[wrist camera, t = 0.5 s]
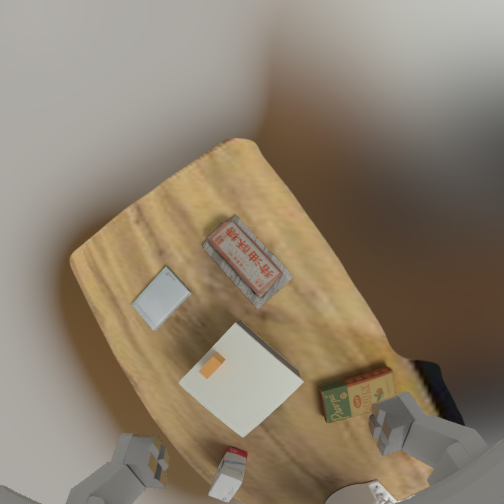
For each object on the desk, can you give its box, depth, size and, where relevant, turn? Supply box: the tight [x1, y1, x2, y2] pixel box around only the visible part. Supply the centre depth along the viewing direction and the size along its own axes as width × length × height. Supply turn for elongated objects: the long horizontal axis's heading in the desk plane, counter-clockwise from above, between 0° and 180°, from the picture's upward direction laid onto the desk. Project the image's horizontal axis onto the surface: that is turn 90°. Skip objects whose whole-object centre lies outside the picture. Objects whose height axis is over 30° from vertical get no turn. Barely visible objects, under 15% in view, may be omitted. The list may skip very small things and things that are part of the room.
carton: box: [318, 367, 395, 423], centre depth 52 cm, size 8×16×4 cm, turn 102°
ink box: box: [208, 447, 247, 503], centre depth 48 cm, size 9×5×12 cm, turn 157°
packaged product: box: [203, 215, 293, 309], centre depth 58 cm, size 18×5×10 cm
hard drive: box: [132, 266, 192, 331], centre depth 60 cm, size 2×8×12 cm
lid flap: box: [178, 322, 304, 438], centre depth 47 cm, size 17×17×4 cm
